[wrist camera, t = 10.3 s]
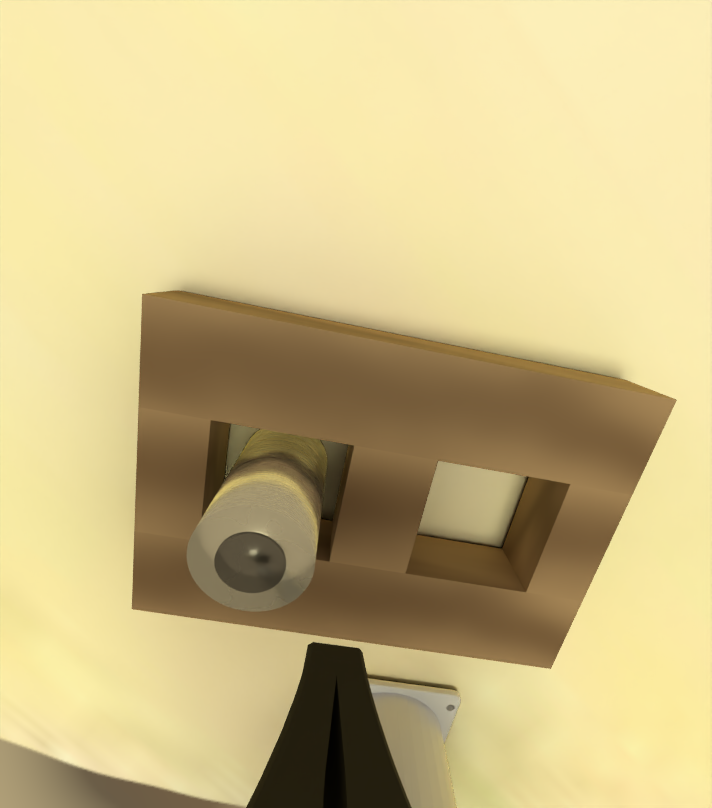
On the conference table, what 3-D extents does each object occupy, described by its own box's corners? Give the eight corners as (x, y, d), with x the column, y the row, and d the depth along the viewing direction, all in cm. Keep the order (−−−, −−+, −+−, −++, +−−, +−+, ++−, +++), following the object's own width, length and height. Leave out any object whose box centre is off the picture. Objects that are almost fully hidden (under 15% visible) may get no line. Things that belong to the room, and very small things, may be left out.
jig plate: (525, 618, 22) (550, 668, 19) (161, 563, 21) (131, 609, 18) (625, 379, 18) (676, 399, 15) (178, 290, 17) (142, 294, 14)
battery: (318, 504, 20) (302, 623, 13) (239, 490, 20) (179, 604, 13) (334, 431, 19) (325, 522, 12) (249, 415, 18) (190, 497, 12)
